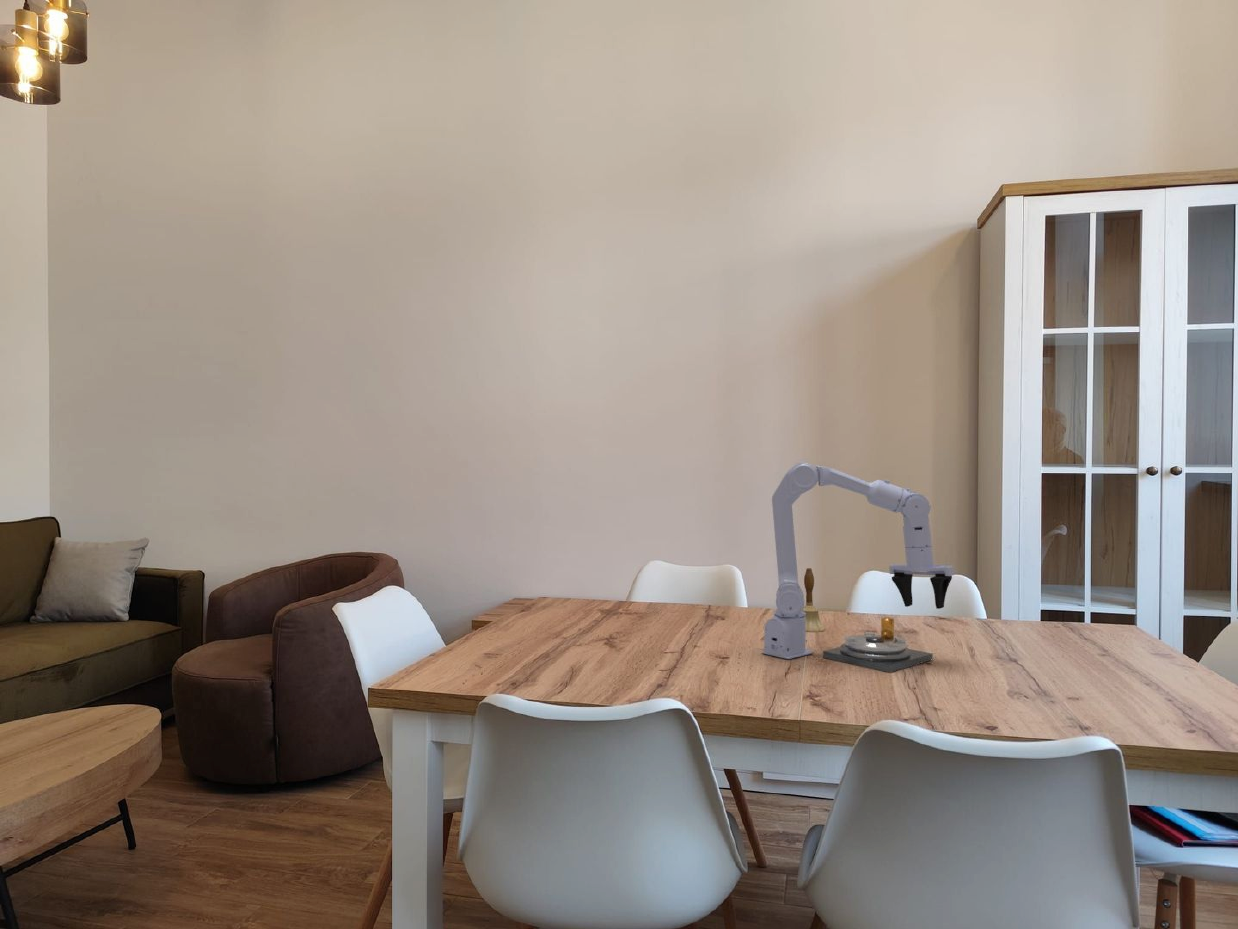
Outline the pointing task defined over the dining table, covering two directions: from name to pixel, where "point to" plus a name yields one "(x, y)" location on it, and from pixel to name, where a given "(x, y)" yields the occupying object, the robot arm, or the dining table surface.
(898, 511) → the robot arm
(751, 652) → the dining table surface
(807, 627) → the hand bell
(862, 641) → the grey crank wheel
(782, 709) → the dining table surface
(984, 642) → the dining table surface
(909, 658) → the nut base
